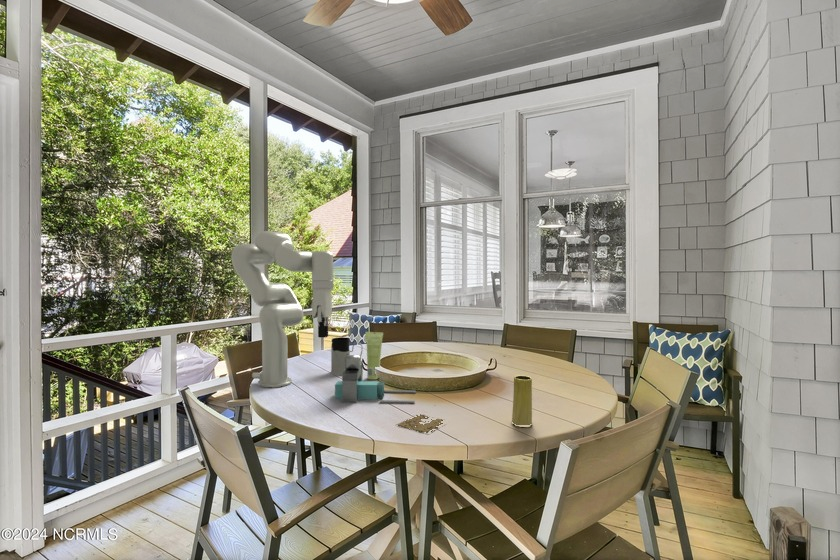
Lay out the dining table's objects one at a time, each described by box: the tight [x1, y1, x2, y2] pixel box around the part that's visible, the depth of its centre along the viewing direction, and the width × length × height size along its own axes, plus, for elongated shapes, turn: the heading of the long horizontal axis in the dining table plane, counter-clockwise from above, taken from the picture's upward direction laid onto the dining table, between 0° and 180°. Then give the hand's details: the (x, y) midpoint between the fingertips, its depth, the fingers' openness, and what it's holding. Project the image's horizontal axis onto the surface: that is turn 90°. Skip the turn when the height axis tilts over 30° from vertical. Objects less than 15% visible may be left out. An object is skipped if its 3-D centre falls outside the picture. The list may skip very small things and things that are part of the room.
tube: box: [364, 331, 384, 381], centre depth 181 cm, size 6×5×20 cm
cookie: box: [396, 414, 444, 433], centre depth 130 cm, size 12×12×1 cm
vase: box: [511, 374, 533, 425], centre depth 131 cm, size 6×6×14 cm
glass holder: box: [330, 336, 363, 377], centre depth 189 cm, size 9×14×15 cm, turn 82°
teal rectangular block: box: [334, 380, 385, 400], centre depth 156 cm, size 17×4×5 cm, turn 89°
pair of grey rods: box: [379, 389, 417, 405], centre depth 155 cm, size 12×14×1 cm
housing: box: [341, 354, 364, 403], centre depth 156 cm, size 5×13×15 cm, turn 179°
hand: (323, 336), depth 155 cm, fingers closed
